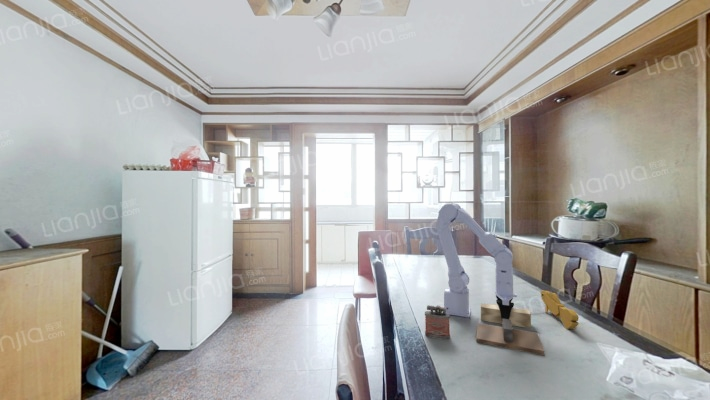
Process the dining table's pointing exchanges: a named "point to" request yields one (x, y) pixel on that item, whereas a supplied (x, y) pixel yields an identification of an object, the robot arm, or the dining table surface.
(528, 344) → the ridge stand
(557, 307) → the decorative fish
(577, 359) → the dining table surface
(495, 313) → the pine batten
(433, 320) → the lighter
